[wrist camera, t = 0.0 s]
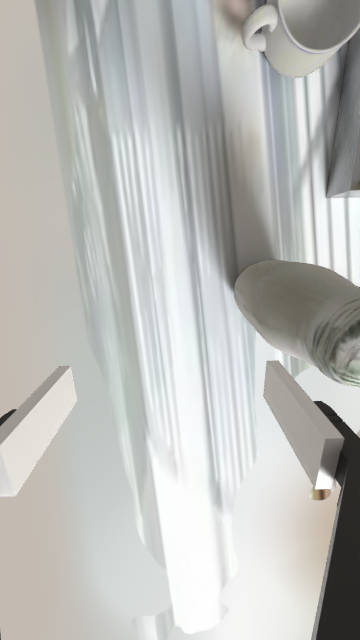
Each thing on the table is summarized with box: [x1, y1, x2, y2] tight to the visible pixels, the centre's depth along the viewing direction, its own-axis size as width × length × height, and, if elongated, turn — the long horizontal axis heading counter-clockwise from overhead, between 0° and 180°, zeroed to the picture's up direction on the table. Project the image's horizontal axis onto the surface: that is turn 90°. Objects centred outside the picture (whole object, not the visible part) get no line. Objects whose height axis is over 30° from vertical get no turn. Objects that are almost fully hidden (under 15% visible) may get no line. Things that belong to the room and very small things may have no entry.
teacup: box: [242, 0, 360, 78], centre depth 28 cm, size 14×11×8 cm
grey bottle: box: [234, 260, 360, 387], centre depth 29 cm, size 10×10×28 cm
